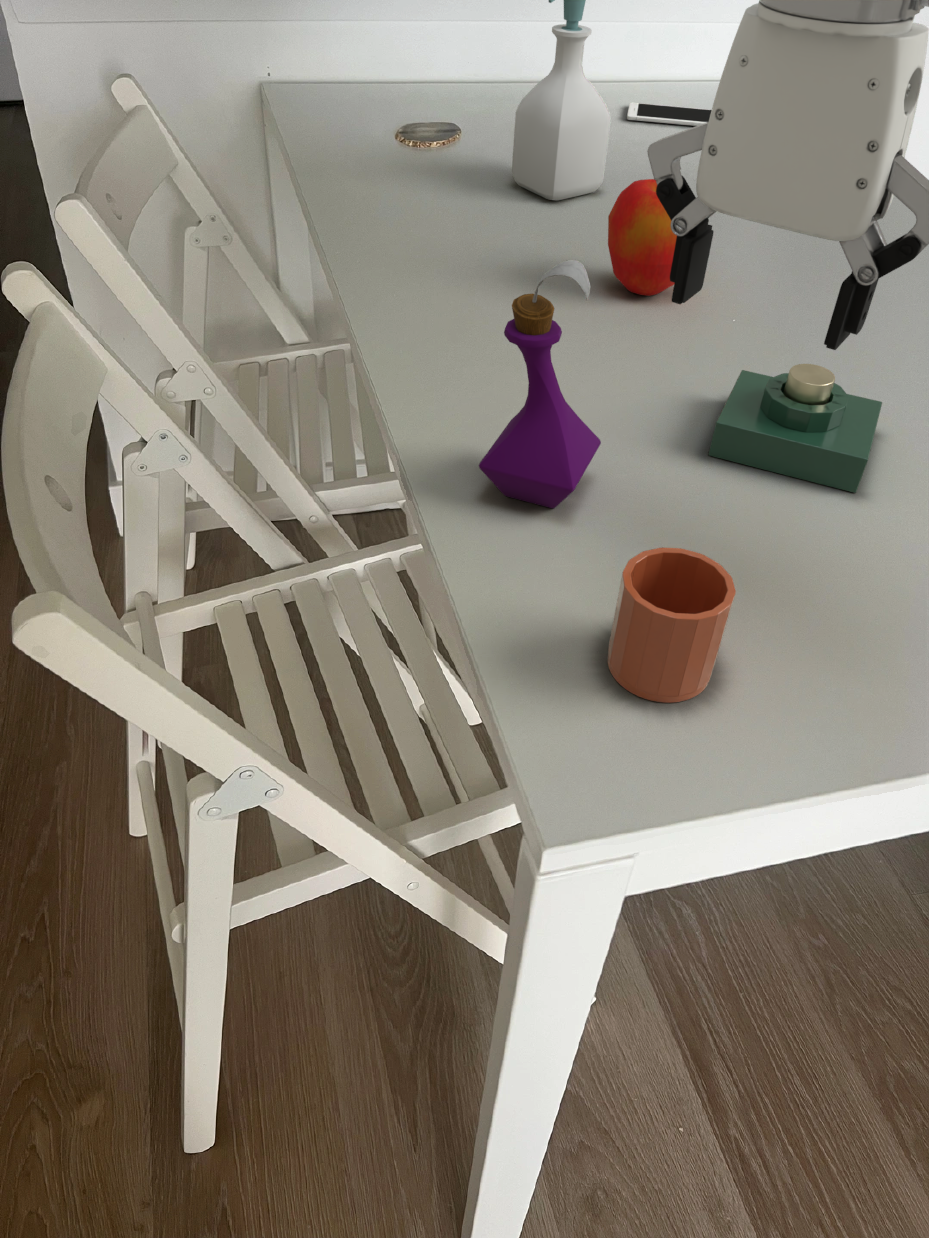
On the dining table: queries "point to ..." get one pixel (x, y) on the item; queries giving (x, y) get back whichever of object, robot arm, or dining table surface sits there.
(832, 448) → the push button base
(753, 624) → the dining table surface
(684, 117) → the cell phone
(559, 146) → the soap bottle
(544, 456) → the perfume bottle
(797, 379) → the metal button cap
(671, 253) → the apple
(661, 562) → the cup
